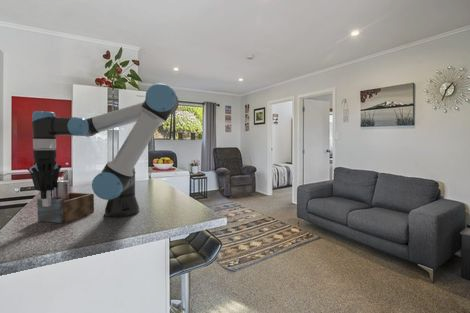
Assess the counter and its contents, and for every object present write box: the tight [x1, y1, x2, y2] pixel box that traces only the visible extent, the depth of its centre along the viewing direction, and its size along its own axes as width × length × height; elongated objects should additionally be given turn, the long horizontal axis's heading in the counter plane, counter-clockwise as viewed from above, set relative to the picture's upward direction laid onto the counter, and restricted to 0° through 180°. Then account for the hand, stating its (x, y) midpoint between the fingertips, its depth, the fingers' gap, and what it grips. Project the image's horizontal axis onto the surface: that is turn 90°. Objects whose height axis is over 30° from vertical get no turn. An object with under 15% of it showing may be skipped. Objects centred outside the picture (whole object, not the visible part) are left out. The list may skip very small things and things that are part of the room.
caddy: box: [51, 191, 95, 223], centre depth 111 cm, size 16×13×9 cm
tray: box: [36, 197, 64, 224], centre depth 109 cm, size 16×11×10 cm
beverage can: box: [52, 179, 70, 201], centre depth 107 cm, size 6×6×15 cm
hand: (46, 205), depth 101 cm, fingers closed
